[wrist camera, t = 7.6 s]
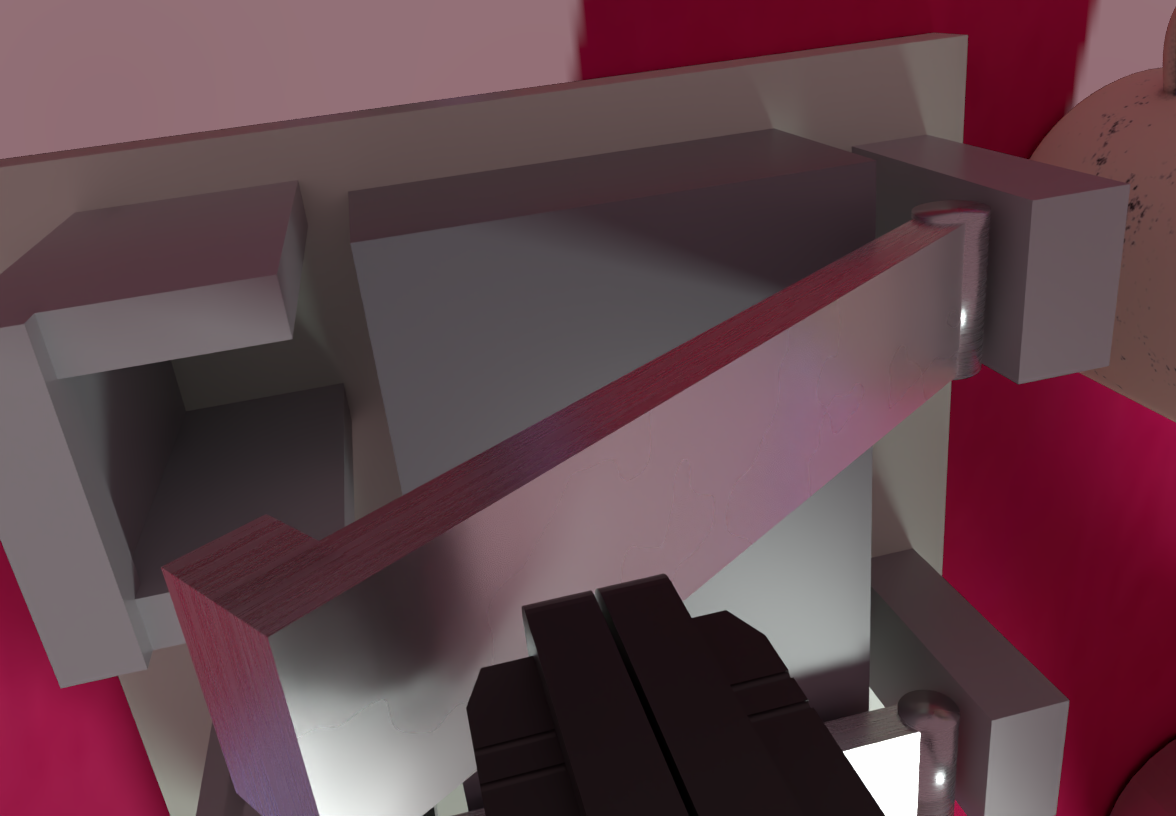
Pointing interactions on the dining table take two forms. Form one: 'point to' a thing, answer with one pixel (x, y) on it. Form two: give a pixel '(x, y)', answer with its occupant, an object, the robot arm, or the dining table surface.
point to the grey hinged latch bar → (900, 753)
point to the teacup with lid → (1134, 219)
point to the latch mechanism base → (511, 355)
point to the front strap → (561, 524)
